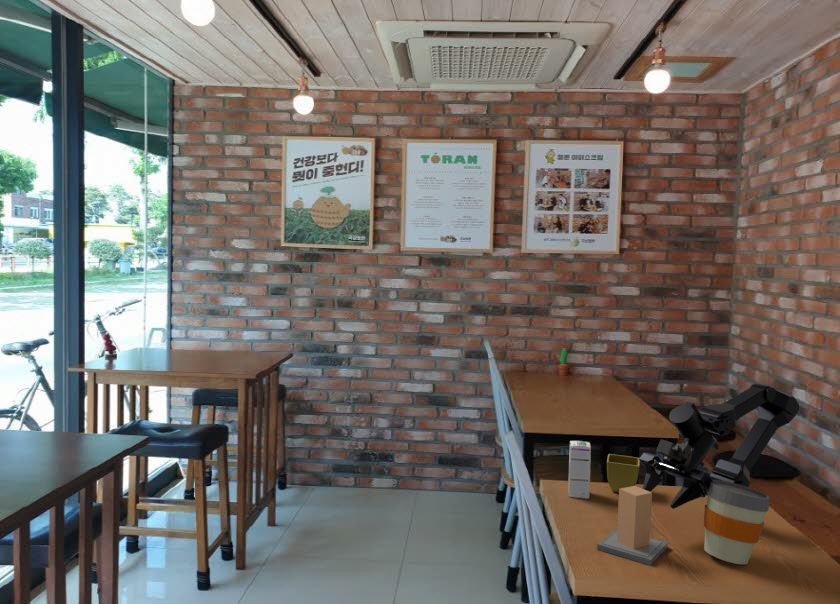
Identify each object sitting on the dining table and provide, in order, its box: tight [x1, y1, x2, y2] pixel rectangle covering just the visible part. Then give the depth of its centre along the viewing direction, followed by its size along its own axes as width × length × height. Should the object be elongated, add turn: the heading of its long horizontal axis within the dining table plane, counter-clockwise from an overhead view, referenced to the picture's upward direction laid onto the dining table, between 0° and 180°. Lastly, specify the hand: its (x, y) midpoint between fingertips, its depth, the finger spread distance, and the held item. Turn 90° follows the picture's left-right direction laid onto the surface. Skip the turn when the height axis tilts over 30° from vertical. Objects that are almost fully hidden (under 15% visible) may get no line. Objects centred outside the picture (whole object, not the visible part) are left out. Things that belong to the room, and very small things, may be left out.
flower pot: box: [606, 453, 641, 493], centre depth 188 cm, size 9×9×9 cm
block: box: [616, 485, 653, 549], centre depth 149 cm, size 5×5×12 cm
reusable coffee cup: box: [703, 480, 770, 565], centre depth 146 cm, size 13×13×15 cm
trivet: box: [596, 527, 669, 566], centre depth 149 cm, size 12×12×1 cm
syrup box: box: [567, 440, 592, 500], centre depth 183 cm, size 6×6×14 cm
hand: (656, 501), depth 153 cm, fingers open, 8 cm apart
